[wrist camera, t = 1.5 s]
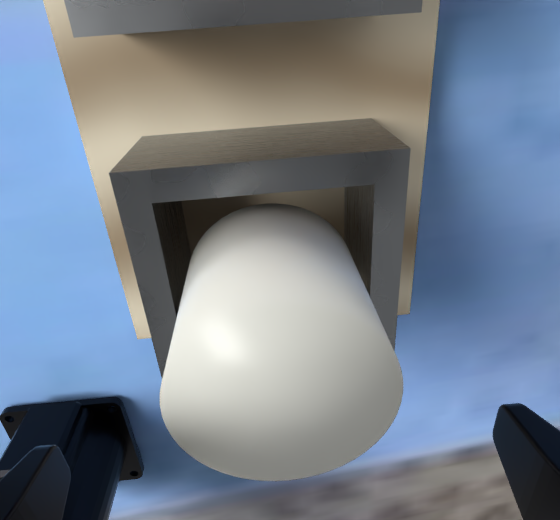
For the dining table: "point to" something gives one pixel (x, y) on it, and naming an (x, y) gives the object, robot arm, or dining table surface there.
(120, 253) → the board
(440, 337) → the dining table surface
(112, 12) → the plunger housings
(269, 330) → the white rounded tapered piece
